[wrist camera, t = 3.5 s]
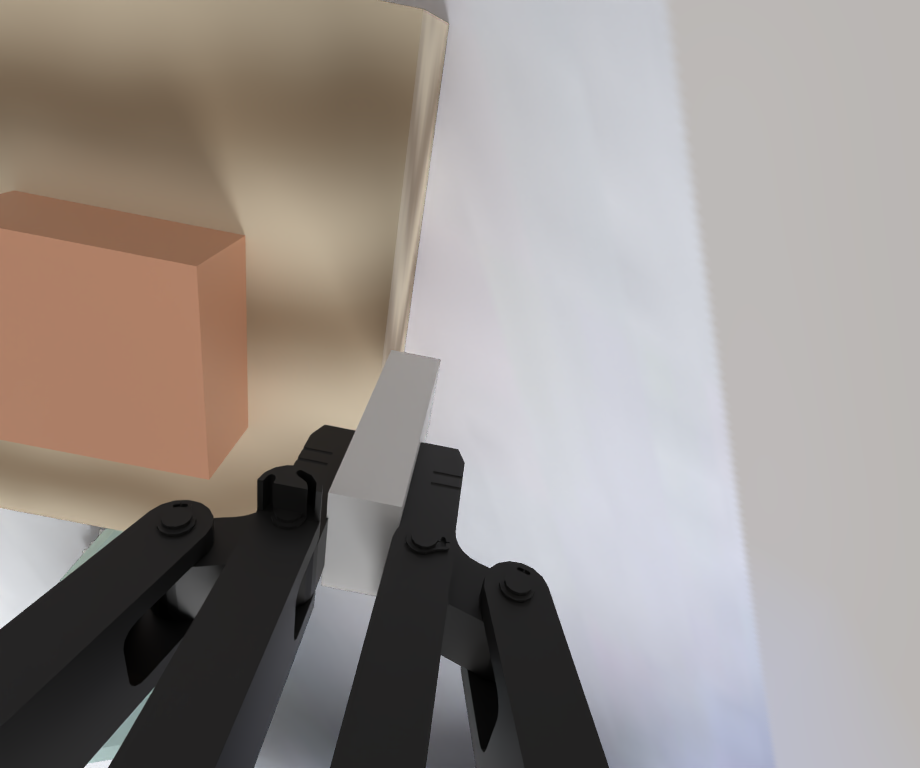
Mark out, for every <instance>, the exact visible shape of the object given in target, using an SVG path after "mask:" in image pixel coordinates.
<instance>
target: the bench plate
mask: <svg viewBox="0 0 920 768" xmlns="http://www.w3.org/2000/svg"><path fill="white" fill-rule="evenodd" d="M448 28H449V23H447V22H445V21H444V20H442V19H440V18H438V17H436V16H435V15H433V14H431V13H429V12H428V11H426V10H424V9H421V8H416V7H411V6H405V5H400V4H395V3H390V2H385V1H380V0H0V194H2V193H6V192H10V191H20V192H25V193H30V194H35V195H40V196H45V197H50V198H55V199H61V200H66V201H71V202H76V203H81V204H86V205H91V206H97V207H102V208H107V209H112V210H117V211H122V212H127V213H133V214H138V215H143V216H148V217H153V218H158V219H163V220H168V221H174V222H179V223H184V224H189V225H194V226H199V227H204V228H210V229H215V230H220V231H225V232H230V233H235V234H240V235H245V241H246V309H247V376H248V428H247V430H246V431H245V432H244V434H243V435H242V436H241V438H240V439H239V440H238V442H237V443H236V444H235V446H234V447H233V448H232V450H231V451H230V452H229V454H228V455H227V457H226V458H225V459H224V461H223V462H222V463H221V465H220V466H219V467H218V469H217V470H216V471H215V473H214V474H213V475H212V477H211V478H210V479H209V480H207V479H202V478H197V477H192V476H187V475H181V474H176V473H171V472H166V471H160V470H155V469H150V468H145V467H140V466H134V465H129V464H124V463H119V462H114V461H108V460H103V459H98V458H93V457H87V456H82V455H77V454H72V453H67V452H61V451H56V450H51V449H46V448H41V447H35V446H30V445H25V444H20V443H14V442H9V441H4V440H0V508H4V509H9V510H14V511H19V512H25V513H30V514H35V515H40V516H46V517H51V518H56V519H61V520H67V521H72V522H77V523H82V524H87V525H93V526H98V527H103V528H108V529H114V530H119V531H125V530H126V529H127V528H129V527H130V526H131V525H132V524H134V523H135V522H136V521H137V520H139V519H140V518H141V517H143V516H144V515H145V514H146V513H148V512H149V511H150V510H152V509H154V508H156V507H157V506H159V505H161V504H164V503H167V502H171V501H174V500H191V501H196V502H200V503H202V504H204V505H205V506H207V507H208V508H209V509H210V511H211V513H212V514H213V518H221V517H238V516H245V515H249V514H252V513H256V511H257V479H258V478H259V477H260V476H261V475H262V474H263V473H264V472H266V471H268V470H270V469H272V468H275V467H279V466H285V465H294V463H295V461H296V460H297V459H298V456H299V454H300V453H301V451H302V449H303V448H304V445H305V444H306V442H307V440H308V438H309V436H310V435H311V434H312V433H313V432H315V431H316V430H318V429H319V428H320V427H322V426H323V425H330V426H335V427H340V428H345V429H350V430H355V431H356V429H357V426H358V424H359V422H360V420H361V417H362V415H363V413H364V411H365V408H366V406H367V404H368V402H369V399H370V397H371V395H372V392H373V390H374V388H375V386H376V383H377V381H378V379H379V377H380V374H381V372H382V370H383V368H384V365H385V363H386V361H387V359H388V356H389V354H390V352H391V350H395V351H400V352H404V349H405V342H406V335H407V327H408V320H409V313H410V305H411V298H412V291H413V284H414V276H415V269H416V262H417V254H418V247H419V240H420V232H421V225H422V218H423V211H424V203H425V196H426V189H427V181H428V174H429V167H430V160H431V152H432V145H433V138H434V130H435V123H436V116H437V108H438V101H439V94H440V87H441V79H442V72H443V65H444V57H445V50H446V43H447V36H448Z"/></svg>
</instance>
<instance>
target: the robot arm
mask: <svg viewBox="0 0 920 768" xmlns="http://www.w3.org/2000/svg"><path fill="white" fill-rule="evenodd" d="M439 366H440V359H435V358H430V357H425V356H420V355H415V354H410V353H405V352H400V351H395V350H391V352H390V354H389V356H388V359H387V361H386V363H385V365H384V368H383V370H382V372H381V374H380V377H379V379H378V381H377V383H376V386H375V388H374V390H373V392H372V395H371V397H370V399H369V402H368V404H367V406H366V408H365V411H364V413H363V415H362V417H361V420H360V422H359V424H358V426H357V429H356V431H355V430H350V429H345V428H340V427H335V426H330V425H323V426H322V427H320V428H319V429H318V430H316V431H315V432H313V433H312V434H311V435H310V436H309V438H308V440H307V442H306V444H305V445H304V448H303V449H302V451H301V453H300V454H299V456H298V459H297V460H296V461H295V463H294V465H285V466H279V467H275V468H272V469H270V470H268V471H266V472H264V473H263V474H262V475H261V476H260V477H259V478H258V479H257V511H256V513H252V514H249V515H245V516H238V517H221V518H213V514H212V513H211V511H210V509H209V508H208V507H207V506H205V505H204V504H202V503H200V502H196V501H191V500H174V501H171V502H167V503H164V504H161V505H159V506H157V507H156V508H154V509H152V510H150V511H149V512H148V513H146V514H145V515H144V516H143V517H141V518H140V519H139V520H137V521H136V522H135V523H134V524H132V525H131V526H130V527H129V528H127V529H126V530H125V531H124V532H122V533H121V534H120V535H119V536H117V537H116V538H115V539H114V540H112V541H111V542H110V543H108V544H107V545H106V546H105V547H103V548H102V549H101V550H100V551H98V552H97V553H96V554H95V555H93V556H92V557H91V558H90V559H88V560H87V561H86V562H85V563H83V564H82V565H81V566H79V567H78V568H77V569H76V570H74V571H73V572H72V573H71V574H69V575H68V576H67V577H66V578H64V579H63V580H62V581H61V582H59V583H58V584H57V585H56V586H54V587H53V588H52V589H50V590H49V591H48V592H47V593H45V594H44V595H43V596H42V597H40V598H39V599H38V600H37V601H35V602H34V603H33V604H32V605H30V606H29V607H28V608H27V609H25V610H24V611H23V612H21V613H20V614H19V615H18V616H16V617H15V618H14V619H13V620H11V621H10V622H9V623H8V624H6V625H5V626H4V627H3V628H1V629H0V768H84V767H85V766H86V765H87V763H88V762H89V761H90V760H91V759H92V758H93V757H94V756H95V754H96V753H97V752H98V751H99V750H100V749H101V748H102V746H103V745H104V744H105V743H106V742H107V741H108V740H109V738H110V737H111V736H112V735H113V734H114V733H115V732H116V730H117V729H118V728H119V727H120V726H121V725H122V724H123V722H124V721H125V720H126V719H127V718H128V717H129V716H130V715H131V713H132V712H133V711H134V710H135V709H136V708H137V707H138V705H139V704H140V703H141V702H142V701H143V700H144V699H145V697H146V696H147V695H148V694H149V693H150V692H151V691H152V689H153V688H154V687H155V688H154V689H153V691H152V693H151V695H150V696H149V698H148V700H147V701H146V703H145V705H144V707H143V708H142V710H141V712H140V714H139V715H138V717H137V719H136V720H135V722H134V724H133V726H132V727H131V729H130V731H129V733H128V734H127V736H126V738H125V739H124V741H123V743H122V745H121V746H120V748H119V750H118V752H117V753H116V755H115V757H114V758H113V760H112V762H111V764H110V765H109V767H108V768H254V766H255V763H256V760H257V757H258V755H259V752H260V749H261V747H262V744H263V741H264V739H265V736H266V733H267V731H268V728H269V725H270V723H271V720H272V717H273V715H274V712H275V709H276V706H277V704H278V701H279V698H280V696H281V693H282V690H283V688H284V685H285V682H286V680H287V677H288V674H289V672H290V669H291V666H292V664H293V661H294V658H295V655H296V653H297V650H298V647H299V645H300V642H301V639H302V637H303V634H304V631H305V629H306V626H307V623H308V621H309V618H310V615H311V612H312V610H313V607H314V600H315V589H316V587H317V584H318V581H319V579H320V576H321V574H322V577H321V586H325V587H330V588H335V589H341V590H346V591H351V592H356V593H361V594H366V595H371V596H376V600H375V603H374V607H373V611H372V614H371V618H370V622H369V626H368V629H367V633H366V637H365V640H364V644H363V648H362V652H361V655H360V659H359V663H358V666H357V670H356V674H355V677H354V681H353V685H352V689H351V692H350V696H349V700H348V703H347V707H346V711H345V715H344V718H343V722H342V726H341V729H340V733H339V737H338V741H337V744H336V748H335V752H334V755H333V759H332V763H331V767H330V768H426V760H427V753H428V745H429V738H430V730H431V723H432V716H433V708H434V701H435V693H436V686H437V678H438V671H439V663H440V656H441V655H442V656H444V657H446V658H448V659H449V660H451V661H453V662H455V663H457V664H458V665H460V666H461V674H462V681H463V687H464V693H465V700H466V706H467V712H468V719H469V725H470V732H471V738H472V744H473V751H474V757H475V764H476V768H609V766H608V763H607V760H606V757H605V754H604V751H603V748H602V745H601V742H600V739H599V736H598V733H597V730H596V727H595V724H594V722H593V719H592V716H591V713H590V710H589V707H588V704H587V701H586V698H585V695H584V692H583V689H582V686H581V683H580V680H579V677H578V674H577V671H576V668H575V665H574V662H573V659H572V656H571V653H570V650H569V647H568V644H567V641H566V638H565V635H564V632H563V629H562V626H561V623H560V621H559V618H558V615H557V612H556V609H555V606H554V603H553V600H552V597H551V594H550V591H549V588H548V586H547V584H546V582H545V581H544V579H543V577H542V576H541V575H540V574H538V573H537V572H536V571H535V570H534V569H533V568H531V567H528V566H526V565H524V564H522V563H517V562H511V561H508V562H502V563H498V564H496V565H494V566H493V567H491V568H488V567H486V566H484V565H482V564H480V563H478V562H476V561H475V560H473V559H471V558H470V557H469V556H467V555H466V554H465V553H464V552H463V551H462V549H461V548H460V546H459V545H458V542H457V540H456V523H457V516H458V508H459V501H460V493H461V486H462V478H463V471H464V461H463V459H462V456H461V454H460V452H459V450H458V449H453V448H448V447H443V446H438V445H433V444H428V443H425V441H426V437H427V432H428V427H429V421H430V416H431V410H432V405H433V399H434V393H435V388H436V382H437V377H438V371H439Z"/></svg>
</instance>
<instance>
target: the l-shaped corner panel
mask: <svg viewBox="0 0 920 768" xmlns="http://www.w3.org/2000/svg"><path fill="white" fill-rule="evenodd" d="M122 532H124V531H119V530H114V529H108V528H106V529H105V530H103V529H100V530H99V537H98V538H97V539H96V540H95V541H93V542H91V544H90V547H89V548H88V549H84V551H82V553H83V555H82V556H81V557H80V558H79V559H78V561H77V562H76V563H75V564H74V565H73V566H72V567H71V568H70V570H69V571H68V572H67V573H66V574H65V575H64V576H63V578H62V579H61V580H60V581H62V580H63V579H64V578H66V577H67V576H68V575H69V574H71V573H72V572H73V571H74V570H76V569H77V568H78V567H79V566H81V565H82V564H83V563H85V562H86V561H87V560H88V559H90V558H91V557H92V556H93V555H95V554H96V553H97V552H98V551H100V550H101V549H102V548H103V547H105V546H106V545H107V544H108V543H110V542H111V541H112V540H114V539H115V538H116V537H117V536H119V535H120V534H121V533H122ZM154 688H155V687H154ZM154 688H153V689H154ZM153 689H152V691H153ZM152 691H151V692H150V693H149V694H148V695H147V696H146V697H145V699H144V700H143V701H142V702H141V703H140V704H139V705H138V707H137V708H136V709H135V710H134V711H133V712H132V713H131V715H130V716H129V717H128V718H127V719H126V720H125V721H124V722H123V724H122V725H121V726H120V727H119V728H118V729H117V730H116V732H115V733H114V734H113V735H112V736H111V737H110V738H109V740H108V741H107V742H106V743H105V744H104V745H103V746H102V748H101V749H100V750H99V751H98V752H97V753H96V754H95V756H94V757H93V758H92V759H91V760H90V761H89V762H88V763H93V762H99V761H105V760H111V759H113V758H114V757H115V755H116V753H117V752H118V750H119V748H120V746H121V745H122V743H123V741H124V739H125V738H126V736H127V734H128V733H129V731H130V729H131V727H132V726H133V724H134V722H135V720H136V719H137V717H138V715H139V714H140V712H141V710H142V708H143V707H144V705H145V703H146V701H147V700H148V698H149V696H150V695H151V693H152ZM88 763H87V764H88Z"/></svg>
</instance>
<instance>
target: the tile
mask: <svg viewBox="0 0 920 768" xmlns="http://www.w3.org/2000/svg"><path fill="white" fill-rule="evenodd" d="M247 428H248V376H247V309H246V241H245V235H240V234H235V233H230V232H225V231H220V230H215V229H210V228H204V227H199V226H194V225H189V224H184V223H179V222H174V221H168V220H163V219H158V218H153V217H148V216H143V215H138V214H133V213H127V212H122V211H117V210H112V209H107V208H102V207H97V206H91V205H86V204H81V203H76V202H71V201H66V200H61V199H55V198H50V197H45V196H40V195H35V194H30V193H25V192H20V191H10V192H6V193H2V194H0V440H4V441H9V442H14V443H20V444H25V445H30V446H35V447H41V448H46V449H51V450H56V451H61V452H67V453H72V454H77V455H82V456H87V457H93V458H98V459H103V460H108V461H114V462H119V463H124V464H129V465H134V466H140V467H145V468H150V469H155V470H160V471H166V472H171V473H176V474H181V475H187V476H192V477H197V478H202V479H207V480H209V479H210V478H211V477H212V475H213V474H214V473H215V471H216V470H217V469H218V467H219V466H220V465H221V463H222V462H223V461H224V459H225V458H226V457H227V455H228V454H229V452H230V451H231V450H232V448H233V447H234V446H235V444H236V443H237V442H238V440H239V439H240V438H241V436H242V435H243V434H244V432H245V431H246V430H247Z"/></svg>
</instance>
